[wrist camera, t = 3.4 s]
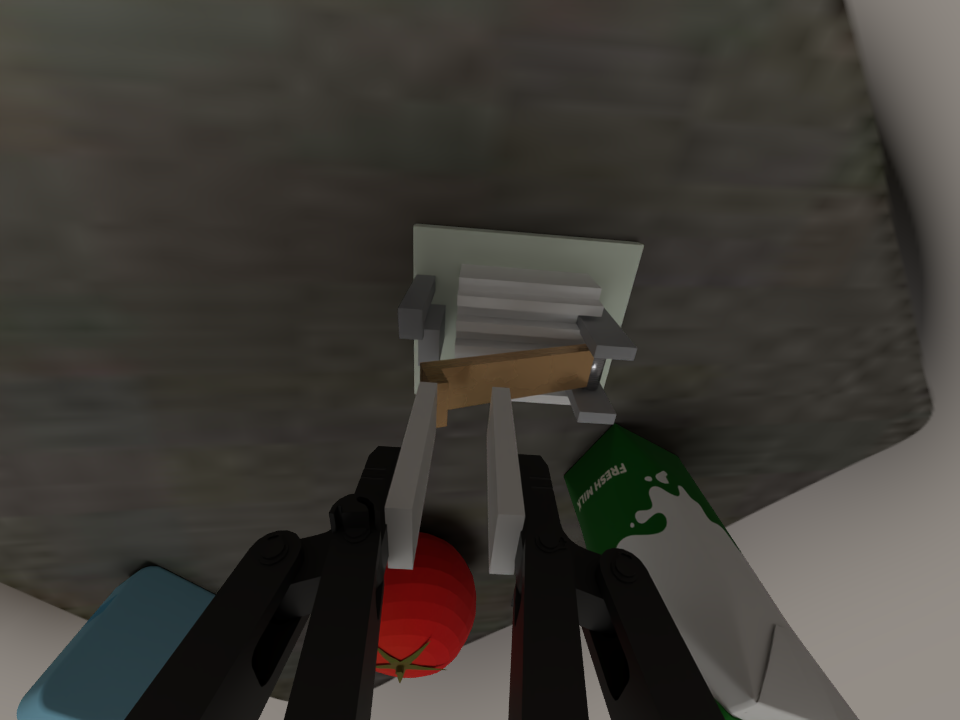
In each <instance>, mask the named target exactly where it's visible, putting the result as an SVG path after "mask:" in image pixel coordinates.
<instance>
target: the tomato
mask: <svg viewBox="0 0 960 720" xmlns="http://www.w3.org/2000/svg"><path fill="white" fill-rule="evenodd" d="M475 612H476V591H475V585H474V580H473V576H472V574H471V572H470V570H469V568H468V566H467V564H466V562H465V560H464V559H463V557H462V556H461V555H460V554H459V553H458V551H457V550H456V549H455V548H454V547H453V546H452V545H451V544H449V543H448V542H446V541H445V540H442V539H440V538H438V537H436V536H434V535H431V534H428V533H423V532H419V536H418V542H417V547H416V553H415V559H414V565H413V570H412V569H393V568H388V561H387V565H386V570H385V574H384V594H383V604H382V613H381V623H380V632H379V641H378V651H377V660H376V670H375V671H377V672H380V673H383V674H386V675H390V676H395V677H398V680H399V683H400V682H401V680H402V678H416V677H422V676H427V675H431V674H434V673H437V672H439V671H441V670H445V669H443V668H445V667H446V666H447V665H448V664H449V663H450V662H452V661H453V660H454V658H455V657H456V656H457V655H458V653H459V651H460V650H461V648H462V646H463V645H464V643H465V641H466V640H467V638H468V635H469V633H470V631H471V629H472V626H473V622H474V618H475Z"/></svg>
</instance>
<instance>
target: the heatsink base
mask: <svg viewBox="0 0 960 720" xmlns="http://www.w3.org/2000/svg"><path fill="white" fill-rule="evenodd" d="M643 248H644V245H643V244H641V243H639V242H632V241H620V240H608V239H596V238H584V237H572V236H560V235H548V234H536V233H524V232H512V231H500V230H488V229H476V228H464V227H452V226H440V225H428V224H415V225H414V226H413V259H414V280H413V282H412V284H411V286H410V287H409V289H408V291H407V293H406V295H405V296H404V298H403V300H402V302H401V303H400V305H399V307H398V327H399V338H400V339H414V394H416V393H417V390H418V386H419V383H420V363H421V362H430V361H438V360H447V359H456V358H465V357H473V356H482V355H491V354H500V353H508V352H517V351H526V350H535V349H543V348H552V347H561V346H570V345H579V344H586V345H587V347H588V349H589V350H590V352H591V354H592V356H593V357H594V358H603V359H606V362H605V365H604V369H603V373H602V376H601V380H600V384H599V387H598V389H597V390H595V391H589V390H585V389H583V388H577V389H571V390H565V391H558V392H552V393H546V394H540V395H534V396H528V397H522V398H516V399H511V401H519V402H533V403H548V404H563V405H571V406H572V409H573V412H574V415H575V417H576V420H577V422H582V423H597V424H614V421H615V418H616V412H615V410H614V409H613V407H612V405H611V403H610V401H609V399H608V397H607V395H606V393H605V391H604V390H603V389H604V385H605V382H606V378H607V375H608V371H609V367H610V364H611V360H612V359H617V360H630V361H634V357H635V354H636V351H637V347H636V346H635V345H634V343H633V342H632V341H631V340H630V339H629V337H628V336H627V335H626V334H625V332H624V331H623V330H622V329H621V325H622V322H623V318H624V315H625V311H626V308H627V304H628V300H629V297H630V293H631V290H632V286H633V283H634V279H635V276H636V272H637V269H638V265H639V262H640V258H641V255H642V251H643Z"/></svg>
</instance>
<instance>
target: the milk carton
mask: <svg viewBox="0 0 960 720" xmlns="http://www.w3.org/2000/svg"><path fill="white" fill-rule="evenodd" d="M564 479H565V482H566V485H567V488H568V491H569V494H570V497H571V500H572V503H573V506H574V509H575V512H576V515H577V518H578V521H579V524H580V527H581V530H582V533H583V537H584V541H585V544H586V548H587V550H590V551H593V552H595V553H598V554H601V555H602V554H603V553H604V552H605V551H606V550H607V549H611V548H620V549H624V550H626V551H629V552H631V553H633V554H634V555H635V556H636V557H637V558H639V559H640V560H641V561H642V563H643V564H644V566H645V567H646V568H647V570H648V572H649V574H650V576H651V578H652V580H653V582H654V584H655V586H656V588H657V589H658V591H659V593H660V595H661V597H662V599H663V601H664V603H665V605H666V607H667V609H668V611H669V613H670V614H671V616H672V618H673V620H674V622H675V624H676V626H677V628H678V630H679V632H680V634H681V636H682V638H683V639H684V641H685V643H686V645H687V647H688V649H689V651H690V653H691V655H692V657H693V659H694V661H695V663H696V664H697V666H698V668H699V670H700V672H701V674H702V676H703V678H704V680H705V682H706V684H707V686H708V688H709V689H710V691H711V693H712V695H713V697H714V699H715V701H716V703H717V705H718V707H719V709H720V711H721V713H722V714H723V716H724V718H725V720H859V719H858V718H857V716H856V715H855V714H854V712H853V711H852V709H851V708H850V707H849V705H848V704H847V703H846V701H845V700H844V699H843V697H842V696H841V695H840V693H839V692H838V691H837V689H836V688H835V687H834V685H833V684H832V683H831V681H830V680H829V679H828V677H827V676H826V675H825V673H824V672H823V671H822V669H821V668H820V666H819V665H818V664H817V662H816V661H815V660H814V659H813V657H812V656H811V654H810V653H809V651H808V650H807V649H806V647H805V646H804V645H803V643H802V642H801V641H800V639H799V638H798V637H797V635H796V634H795V632H794V631H793V630H792V628H791V627H790V625H789V624H788V623H787V621H786V620H785V618H784V617H783V615H782V614H781V612H780V611H779V609H778V608H777V606H776V604H775V603H774V602H773V600H772V599H771V597H770V595H769V594H768V592H767V591H766V589H765V588H764V586H763V585H762V583H761V582H760V580H759V579H758V577H757V576H756V574H755V572H754V571H753V569H752V568H751V567H750V565H749V563H748V562H747V560H746V559H745V558H744V556H743V554H742V553H741V551H740V550H739V548H738V547H737V545H736V544H735V542H734V541H733V539H732V538H731V536H730V535H729V533H728V532H727V530H726V528H725V527H724V525H723V524H722V522H721V521H720V519H719V518H718V516H717V515H716V513H715V512H714V510H713V509H712V507H711V506H710V504H709V503H708V501H707V500H706V498H705V497H704V495H703V494H702V492H701V491H700V489H699V488H698V486H697V485H696V483H695V482H694V480H693V479H692V477H691V476H690V474H689V473H688V471H687V470H686V468H685V467H684V465H683V464H682V462H681V461H680V459H679V457H678V456H676V455H674V454H672V453H670V452H668V451H666V450H665V449H663V448H661V447H659V446H657V445H655V444H653V443H651V442H649V441H648V440H646V439H644V438H642V437H640V436H638V435H636V434H634V433H632V432H630V431H629V430H627V429H625V428H623V427H621V426H619V425H617V424H615V423H614V424H613V425H612V426H611V427H610V428H609V430H608V431H607V432H606V433H605V434H604V435H603V436H602V437H601V438H600V439H599V440H598V441H597V442H596V443H595V444H594V445H593V446H592V447H591V448H590V449H589V450H588V451H587V452H586V453H585V454H584V455H583V456H582V458H581V459H580V460H579V461H578V462H577V463H576V464H575V465H574V466H573V467H572V468H571V469H570V470H569V471H568V472H567V473H566V474H565V475H564Z"/></svg>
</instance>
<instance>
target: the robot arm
mask: <svg viewBox="0 0 960 720" xmlns="http://www.w3.org/2000/svg"><path fill="white" fill-rule="evenodd" d="M436 414H437V383H431V382H420V383H419V386H418V390H417V393H416V397H415V401H414V404H413V408H412V411H411V415H410V418H409V422H408V426H407V429H406V433H405V436H404V440H403V443H402V447H386V446H378V447H377V448H376V449H375V450H374V451H373V452H372V453H371V454H370V455H369V457H368V460H367V462H366V465H365V469H364V470H363V473H362V475H361V479H360V481H359V483H358V486H357V488H356V491H355V494H349V495H347V496H345V497H343V498H341V499H339V500H338V501H337V502H336V503H335V504H334V505H333V506H332V508H331V510H330V512H329V517H330V523H331V530H329V531H328V532H325V533H322V534H319V535H315V536H311V537H306V538H302V539H300V538H299V537H298V536H297V534H296V533H293V532H291V531H288V530H285V531H276V532H272V533H269V534H267V535H265V536H264V537H262V538H260V539H259V540H258V541H257V542H256V543H255V544H254V545H253V546H252V547H251V548H250V549H249V550H248V552H247V553H246V554H245V556H244V557H243V558H242V560H241V561H240V563H239V564H238V565H237V567H236V568H235V569H234V571H233V572H232V573H231V575H230V576H229V578H228V579H227V580H226V582H225V583H224V584H223V586H222V587H221V588H220V590H219V591H218V592H217V594H216V595H215V597H214V598H213V599H212V601H211V602H210V603H209V605H208V606H207V607H206V609H205V610H204V612H203V613H202V614H201V616H200V617H199V618H198V620H197V621H196V622H195V624H194V625H193V627H192V628H191V629H190V631H189V632H188V633H187V635H186V636H185V637H184V639H183V640H182V642H181V643H180V644H179V646H178V647H177V648H176V650H175V651H174V652H173V654H172V655H171V656H170V658H169V659H168V661H167V662H166V663H165V665H164V666H163V667H162V669H161V670H160V671H159V673H158V674H157V676H156V677H155V678H154V680H153V681H152V682H151V684H150V685H149V686H148V688H147V689H146V691H145V692H144V693H143V695H142V696H141V697H140V699H139V700H138V701H137V703H136V704H135V706H134V707H133V708H132V710H131V711H130V712H129V714H128V715H127V716H126V718H125V719H124V720H258V719H259V717H260V715H261V713H262V711H263V709H264V707H265V704H266V703H267V701H268V699H269V697H270V695H271V693H272V691H273V689H274V687H275V684H276V682H277V680H278V678H279V676H280V674H281V672H282V670H283V668H284V666H285V664H286V662H287V660H288V658H289V656H290V654H291V652H292V650H293V648H294V646H295V644H296V642H297V640H298V638H299V636H300V634H301V632H302V630H303V628H304V626H305V624H306V622H307V620H308V618H309V615H310V614H311V617H310V621H309V625H308V628H307V632H306V636H305V640H304V644H303V648H302V652H301V655H300V659H299V663H298V667H297V671H296V675H295V679H294V682H293V686H292V690H291V694H290V698H289V702H288V706H287V709H286V713H285V718H284V720H370V717H371V707H372V697H373V689H374V679H375V670H376V660H377V651H378V641H379V632H380V623H381V613H382V604H383V594H384V574H385V570H386V565H387V561H388V568H393V569H412V570H413V565H414V559H415V553H416V547H417V542H418V536H419V530H420V524H421V518H422V512H423V506H424V500H425V494H426V488H427V482H428V476H429V471H430V465H431V459H432V453H433V447H434V441H435V435H436ZM550 478H551V477H550V473H549V468H548V465H547V464H546V463H545V461H544V460H543V459H542V457H541V456H539V455H524V454H518V452H517V444H516V436H515V428H514V420H513V411H512V403H511V395H510V388H503V387H492V393H491V402H490V411H489V420H488V429H487V482H488V539H489V574H506V575H513V574H514V569H515V573H516V585H515V590H514V595H513V599H512V604H511V606H513V628H512V650H511V652H512V653H511V673H510V697H509V718H508V720H589V717H588V708H587V697H586V687H585V679H584V667H583V658H582V647H581V637H580V628H579V625H580V626H581V627H582V630H583V633H584V636H585V639H586V642H587V645H588V649H589V651H590V655H591V658H592V661H593V664H594V667H595V670H596V674H597V677H598V680H599V683H600V686H601V689H602V693H603V696H604V699H605V702H606V705H607V708H608V712H609V715H610V718H611V720H725V718H724V716H723V714H722V713H721V711H720V709H719V707H718V705H717V703H716V701H715V699H714V697H713V695H712V693H711V691H710V689H709V688H708V686H707V684H706V682H705V680H704V678H703V676H702V674H701V672H700V670H699V668H698V666H697V664H696V663H695V661H694V659H693V657H692V655H691V653H690V651H689V649H688V647H687V645H686V643H685V641H684V639H683V638H682V636H681V634H680V632H679V630H678V628H677V626H676V624H675V622H674V620H673V618H672V616H671V614H670V613H669V611H668V609H667V607H666V605H665V603H664V601H663V599H662V597H661V595H660V593H659V591H658V589H657V588H656V586H655V584H654V582H653V580H652V578H651V576H650V574H649V572H648V570H647V568H646V567H645V566H644V564H643V563H642V561H641V560H640V559H639V558H637V557H636V556H635V555H634V554H633V553H631V552H629V551H626V550H624V549H620V548H611V549H607V550H606V551H605V552H604V553H603V554H602V555H601V554H598V553H595V552H593V551H590V550H587V549H584V548H582V547H580V546H578V545H577V544H575V543H574V542H572V541H571V540H570V539H569V538H568V536H567V535H566V534H565V533H564V531H563V529H562V527H561V524H560V519H559V514H558V510H557V505H556V501H555V496H554V491H553V489H552V488H553V487H552V482H551V480H550Z"/></svg>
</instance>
